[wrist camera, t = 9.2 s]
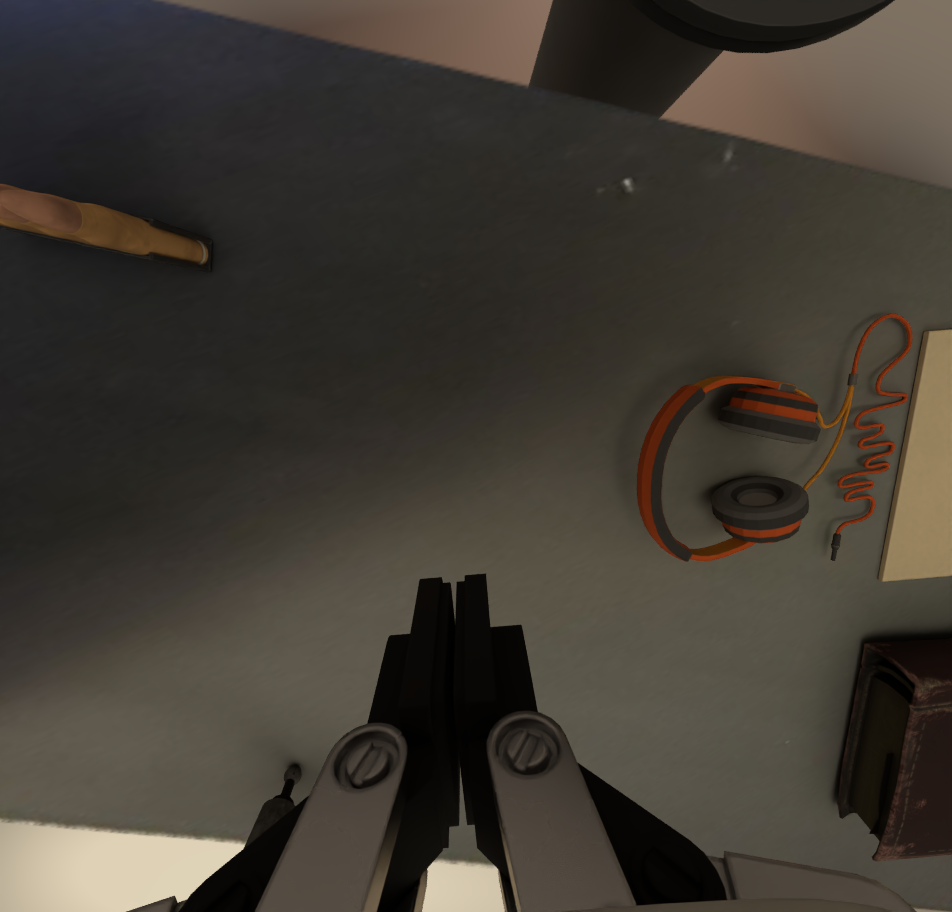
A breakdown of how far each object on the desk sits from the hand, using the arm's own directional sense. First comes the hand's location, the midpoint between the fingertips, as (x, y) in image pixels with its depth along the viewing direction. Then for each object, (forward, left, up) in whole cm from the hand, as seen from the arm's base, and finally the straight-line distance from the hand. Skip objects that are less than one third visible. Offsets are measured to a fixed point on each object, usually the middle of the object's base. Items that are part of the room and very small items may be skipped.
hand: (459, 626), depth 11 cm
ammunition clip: (-14, -19, -20) cm, 30 cm away
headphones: (+2, +20, -20) cm, 28 cm away
